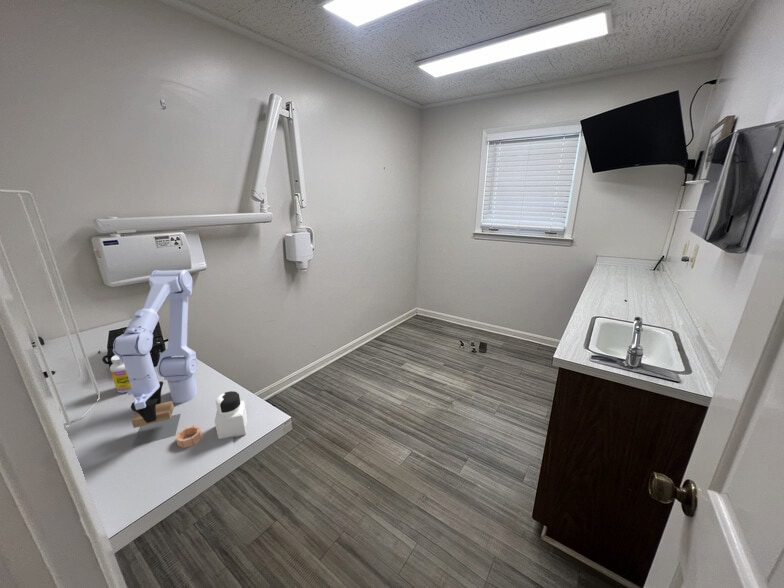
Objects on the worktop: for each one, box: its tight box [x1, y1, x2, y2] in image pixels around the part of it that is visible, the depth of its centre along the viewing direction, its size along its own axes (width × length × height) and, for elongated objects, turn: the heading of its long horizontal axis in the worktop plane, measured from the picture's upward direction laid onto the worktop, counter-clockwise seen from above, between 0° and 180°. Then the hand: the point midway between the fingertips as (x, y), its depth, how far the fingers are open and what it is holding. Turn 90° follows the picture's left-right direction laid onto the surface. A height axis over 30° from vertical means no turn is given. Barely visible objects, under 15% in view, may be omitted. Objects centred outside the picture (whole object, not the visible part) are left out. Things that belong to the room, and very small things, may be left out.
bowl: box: [175, 425, 203, 449], centre depth 87 cm, size 6×6×3 cm
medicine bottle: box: [214, 390, 248, 440], centre depth 90 cm, size 7×7×12 cm
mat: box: [131, 413, 181, 448], centre depth 91 cm, size 10×10×1 cm
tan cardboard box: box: [131, 400, 175, 429], centre depth 89 cm, size 6×8×2 cm, turn 116°
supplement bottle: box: [109, 354, 132, 394], centre depth 108 cm, size 7×7×13 cm
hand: (153, 414), depth 89 cm, fingers closed on tan cardboard box, 6 cm apart
